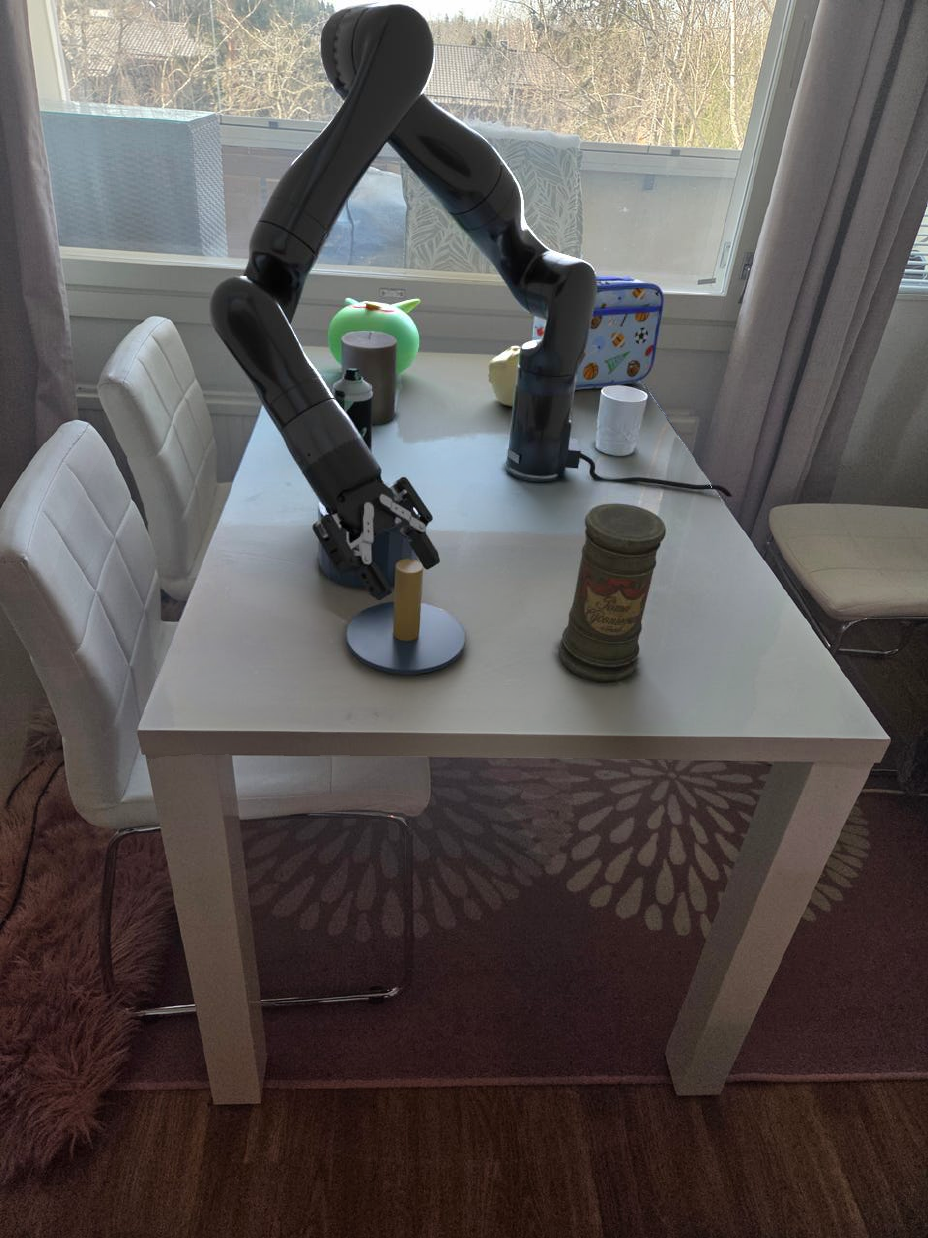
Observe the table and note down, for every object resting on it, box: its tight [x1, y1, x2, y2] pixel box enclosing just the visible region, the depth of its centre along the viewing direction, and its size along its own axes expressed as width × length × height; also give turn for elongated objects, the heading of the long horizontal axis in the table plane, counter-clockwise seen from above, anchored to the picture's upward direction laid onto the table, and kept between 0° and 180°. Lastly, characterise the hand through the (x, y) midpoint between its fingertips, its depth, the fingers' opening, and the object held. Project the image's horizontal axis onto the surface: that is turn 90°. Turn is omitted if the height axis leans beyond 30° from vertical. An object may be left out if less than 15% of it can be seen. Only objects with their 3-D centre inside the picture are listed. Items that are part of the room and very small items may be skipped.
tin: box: [317, 500, 420, 590], centre depth 110 cm, size 13×13×8 cm
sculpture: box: [487, 345, 521, 407], centre depth 164 cm, size 12×12×11 cm
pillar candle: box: [341, 331, 397, 425], centre depth 151 cm, size 10×10×15 cm
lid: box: [345, 559, 466, 675], centre depth 96 cm, size 14×14×10 cm
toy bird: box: [327, 297, 421, 375], centre depth 170 cm, size 18×17×15 cm
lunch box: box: [531, 275, 665, 391], centre depth 173 cm, size 28×10×22 cm, turn 115°
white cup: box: [595, 385, 649, 457], centre depth 149 cm, size 8×8×10 cm
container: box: [558, 502, 667, 683], centre depth 94 cm, size 9×9×18 cm
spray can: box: [331, 367, 373, 454], centre depth 121 cm, size 6×6×20 cm
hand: (410, 580), depth 94 cm, fingers open, 8 cm apart
